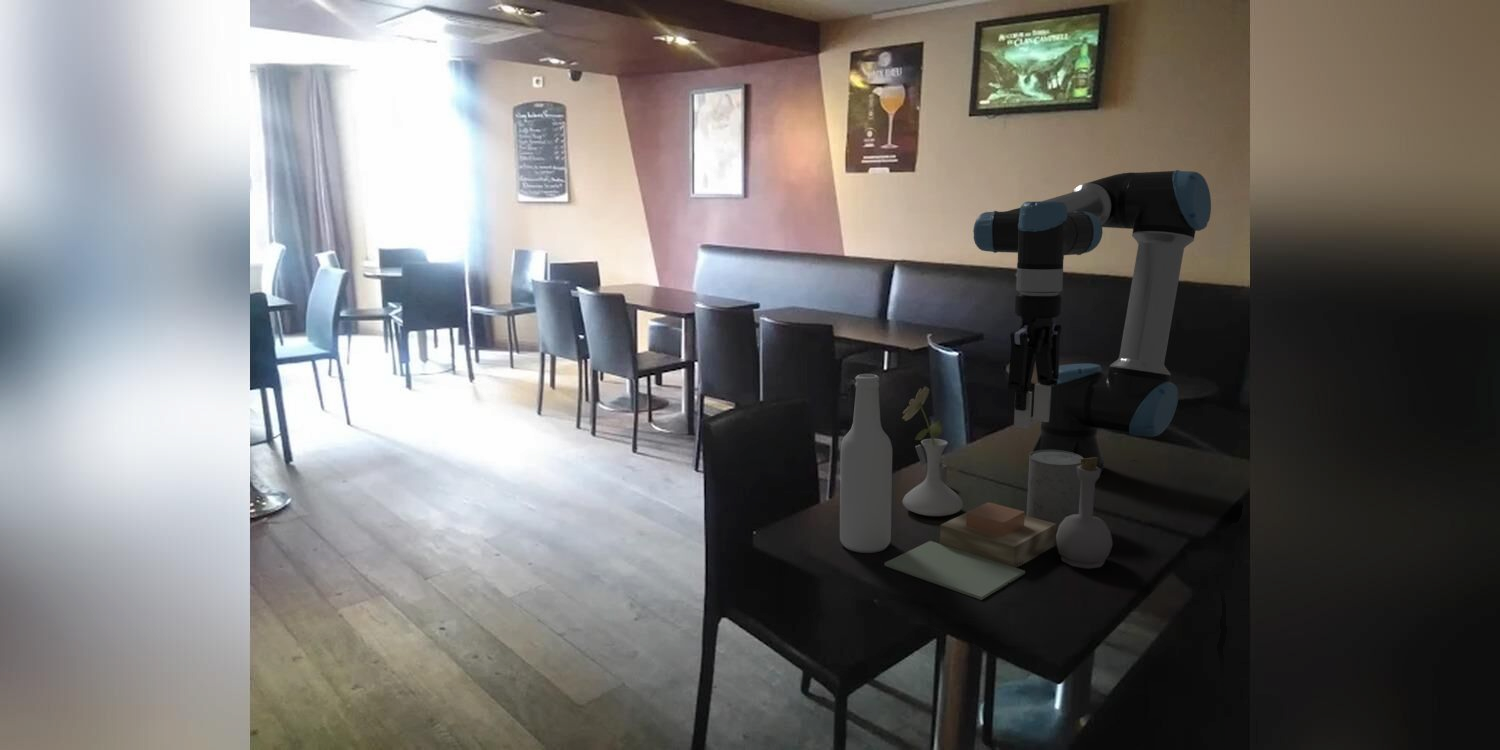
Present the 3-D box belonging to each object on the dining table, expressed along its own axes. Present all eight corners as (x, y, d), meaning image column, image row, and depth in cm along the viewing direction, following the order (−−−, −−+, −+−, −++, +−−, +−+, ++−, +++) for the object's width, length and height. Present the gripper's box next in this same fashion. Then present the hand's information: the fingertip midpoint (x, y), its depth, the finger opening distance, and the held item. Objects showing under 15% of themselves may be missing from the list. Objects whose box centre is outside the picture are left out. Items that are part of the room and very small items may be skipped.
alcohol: (838, 534, 157) (839, 371, 151) (887, 534, 157) (890, 370, 151) (841, 554, 148) (843, 381, 142) (893, 554, 148) (897, 381, 142)
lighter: (946, 485, 183) (947, 448, 181) (941, 487, 182) (942, 450, 180) (919, 477, 188) (920, 442, 186) (914, 479, 187) (915, 443, 185)
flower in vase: (931, 497, 176) (935, 375, 171) (975, 513, 167) (980, 385, 162) (883, 510, 169) (885, 384, 164) (926, 528, 159) (930, 394, 154)
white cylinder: (1083, 531, 157) (1088, 466, 154) (1028, 528, 159) (1031, 463, 156) (1075, 513, 166) (1079, 450, 164) (1023, 510, 168) (1026, 448, 166)
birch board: (982, 525, 161) (983, 504, 160) (1054, 545, 151) (1056, 523, 150) (939, 546, 151) (940, 524, 150) (1013, 570, 141) (1014, 546, 140)
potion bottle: (1082, 575, 139) (1089, 466, 135) (1043, 554, 147) (1049, 452, 143) (1123, 565, 142) (1131, 459, 139) (1082, 546, 150) (1089, 445, 147)
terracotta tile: (987, 515, 154) (988, 502, 154) (1024, 525, 149) (1024, 511, 149) (966, 526, 149) (966, 512, 149) (1003, 536, 145) (1003, 522, 144)
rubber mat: (929, 543, 152) (930, 540, 152) (1024, 573, 140) (1025, 570, 140) (884, 565, 144) (884, 562, 143) (981, 600, 131) (981, 596, 131)
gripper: (1044, 287, 158) (1038, 411, 163) (989, 296, 145) (983, 430, 150) (1085, 289, 153) (1077, 417, 158) (1031, 299, 140) (1024, 438, 145)
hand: (1031, 423), depth 154 cm, fingers open, 6 cm apart
